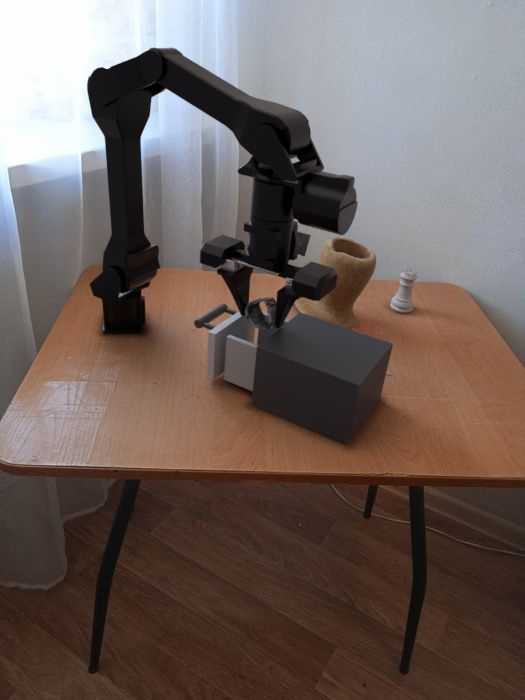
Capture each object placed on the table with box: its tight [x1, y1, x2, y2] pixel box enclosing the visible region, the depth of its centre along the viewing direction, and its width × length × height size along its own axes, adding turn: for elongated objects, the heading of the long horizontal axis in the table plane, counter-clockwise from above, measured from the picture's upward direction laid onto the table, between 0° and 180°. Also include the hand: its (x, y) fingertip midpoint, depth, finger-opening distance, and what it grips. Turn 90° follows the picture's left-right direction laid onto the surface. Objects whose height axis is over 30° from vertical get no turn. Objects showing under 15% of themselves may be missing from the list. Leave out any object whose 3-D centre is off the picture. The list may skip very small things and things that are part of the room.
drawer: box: [193, 302, 290, 392], centre depth 83 cm, size 18×12×8 cm, turn 60°
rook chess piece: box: [389, 268, 418, 314], centre depth 108 cm, size 4×4×8 cm
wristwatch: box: [245, 296, 277, 332], centre depth 80 cm, size 3×5×5 cm
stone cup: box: [293, 236, 377, 330], centre depth 101 cm, size 15×12×15 cm
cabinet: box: [250, 312, 394, 446], centre depth 79 cm, size 15×13×10 cm
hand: (261, 321), depth 80 cm, fingers closed on wristwatch, 5 cm apart
